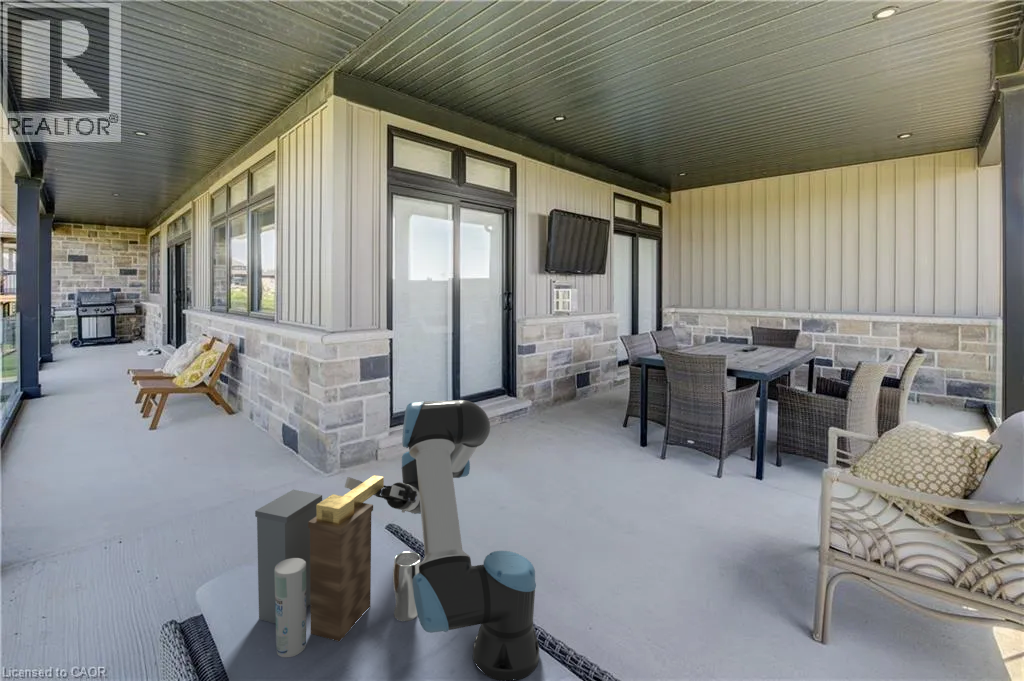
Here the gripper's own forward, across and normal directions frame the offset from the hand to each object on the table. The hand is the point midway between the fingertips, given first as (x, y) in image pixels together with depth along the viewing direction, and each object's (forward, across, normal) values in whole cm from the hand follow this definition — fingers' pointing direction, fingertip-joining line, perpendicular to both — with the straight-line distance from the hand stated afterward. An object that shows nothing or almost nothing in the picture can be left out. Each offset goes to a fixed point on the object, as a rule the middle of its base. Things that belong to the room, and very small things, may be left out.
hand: (369, 486), depth 132 cm
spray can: (+6, +5, -38) cm, 39 cm away
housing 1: (-4, +15, -32) cm, 35 cm away
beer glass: (-11, -14, -28) cm, 33 cm away
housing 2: (-4, 0, -32) cm, 32 cm away
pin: (+5, 0, -5) cm, 7 cm away
